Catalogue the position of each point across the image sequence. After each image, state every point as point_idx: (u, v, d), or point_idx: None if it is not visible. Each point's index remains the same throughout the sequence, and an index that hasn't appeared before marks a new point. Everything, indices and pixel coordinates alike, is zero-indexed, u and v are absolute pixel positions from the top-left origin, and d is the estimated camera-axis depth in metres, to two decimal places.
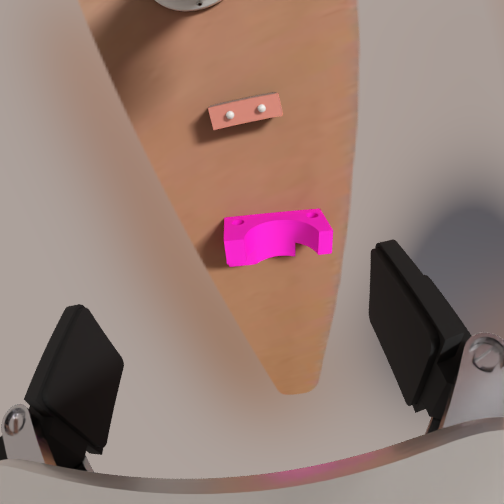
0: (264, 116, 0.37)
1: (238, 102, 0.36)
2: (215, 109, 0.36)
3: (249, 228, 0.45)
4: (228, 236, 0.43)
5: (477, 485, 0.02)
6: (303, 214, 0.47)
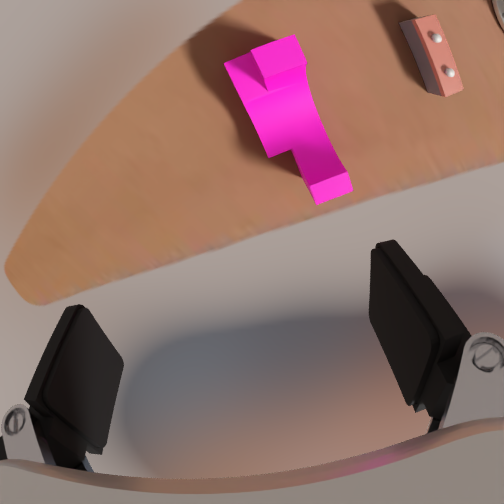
0: (441, 76, 0.24)
1: (448, 47, 0.22)
2: (436, 22, 0.20)
3: None
4: None
5: (477, 485, 0.02)
6: None
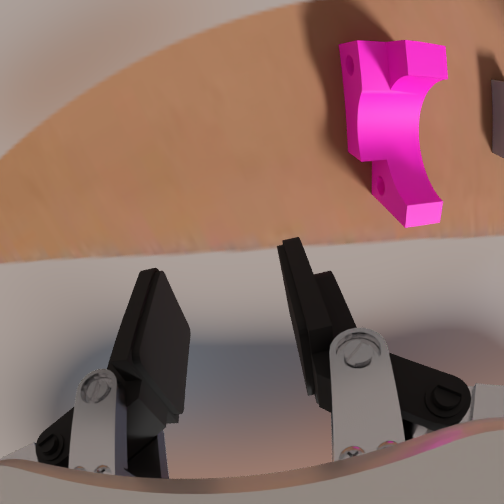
0: None
1: None
2: None
3: None
4: None
5: (477, 485, 0.02)
6: None
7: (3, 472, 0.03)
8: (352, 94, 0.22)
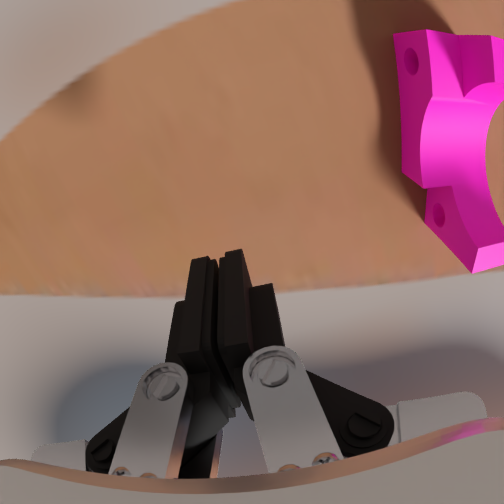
0: None
1: None
2: None
3: None
4: None
5: (477, 485, 0.02)
6: None
7: (3, 472, 0.03)
8: (414, 100, 0.16)
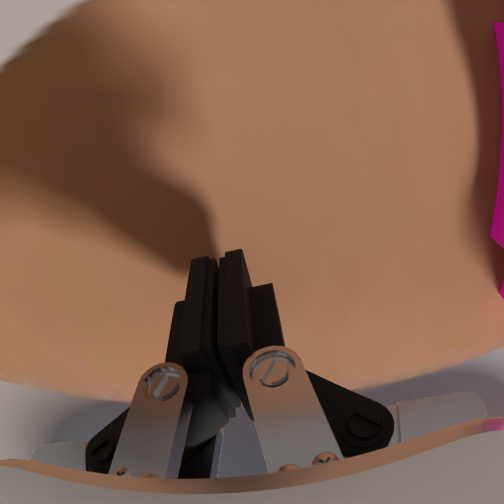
0: None
1: None
2: None
3: None
4: None
5: (477, 485, 0.02)
6: None
7: (3, 472, 0.03)
8: None
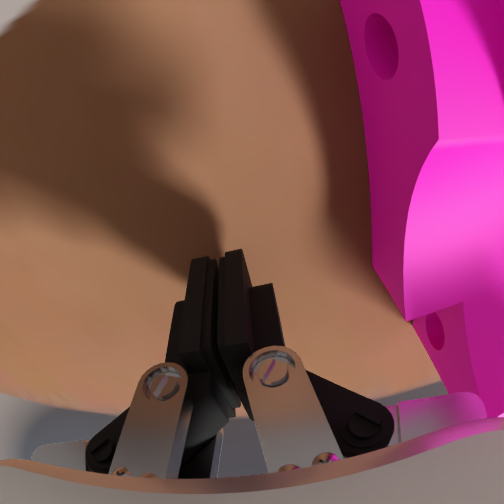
0: None
1: None
2: None
3: None
4: None
5: (477, 485, 0.02)
6: None
7: (3, 472, 0.03)
8: (392, 139, 0.07)
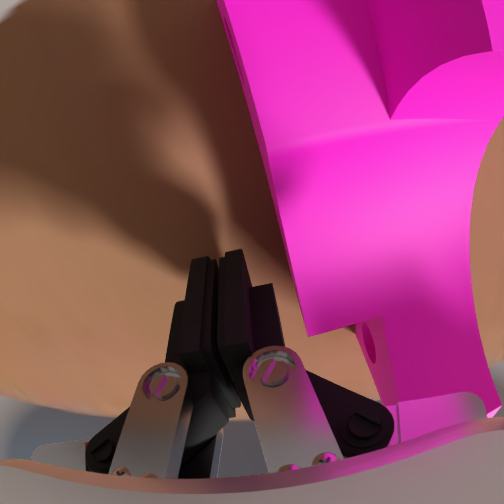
0: None
1: None
2: None
3: None
4: None
5: (477, 485, 0.02)
6: None
7: (3, 472, 0.03)
8: (261, 146, 0.08)
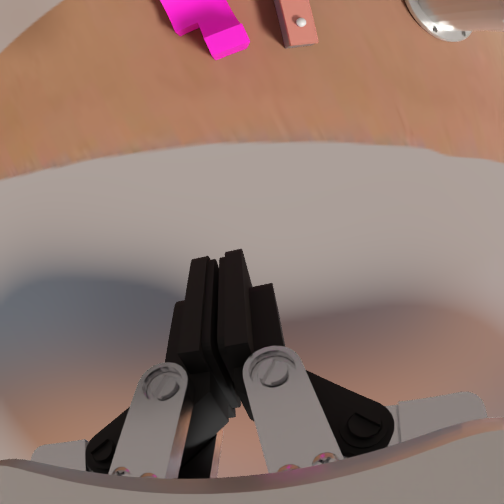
0: (289, 25, 0.25)
1: (307, 0, 0.24)
2: None
3: None
4: None
5: (477, 485, 0.02)
6: None
7: (3, 472, 0.03)
8: None
